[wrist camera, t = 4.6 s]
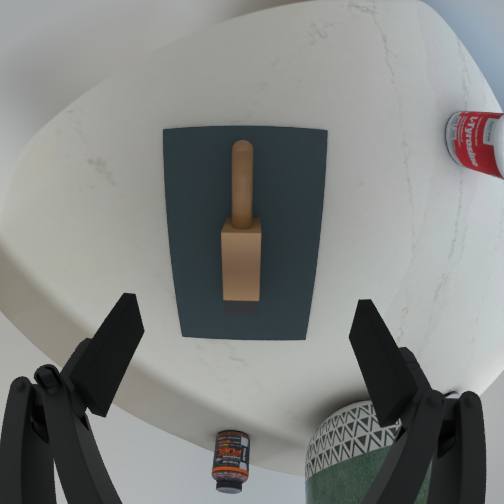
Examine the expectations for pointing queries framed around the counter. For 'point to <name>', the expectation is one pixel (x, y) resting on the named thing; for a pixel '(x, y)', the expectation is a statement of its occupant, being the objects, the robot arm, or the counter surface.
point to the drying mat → (264, 207)
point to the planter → (349, 456)
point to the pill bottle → (477, 141)
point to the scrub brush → (241, 239)
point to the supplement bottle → (231, 461)
